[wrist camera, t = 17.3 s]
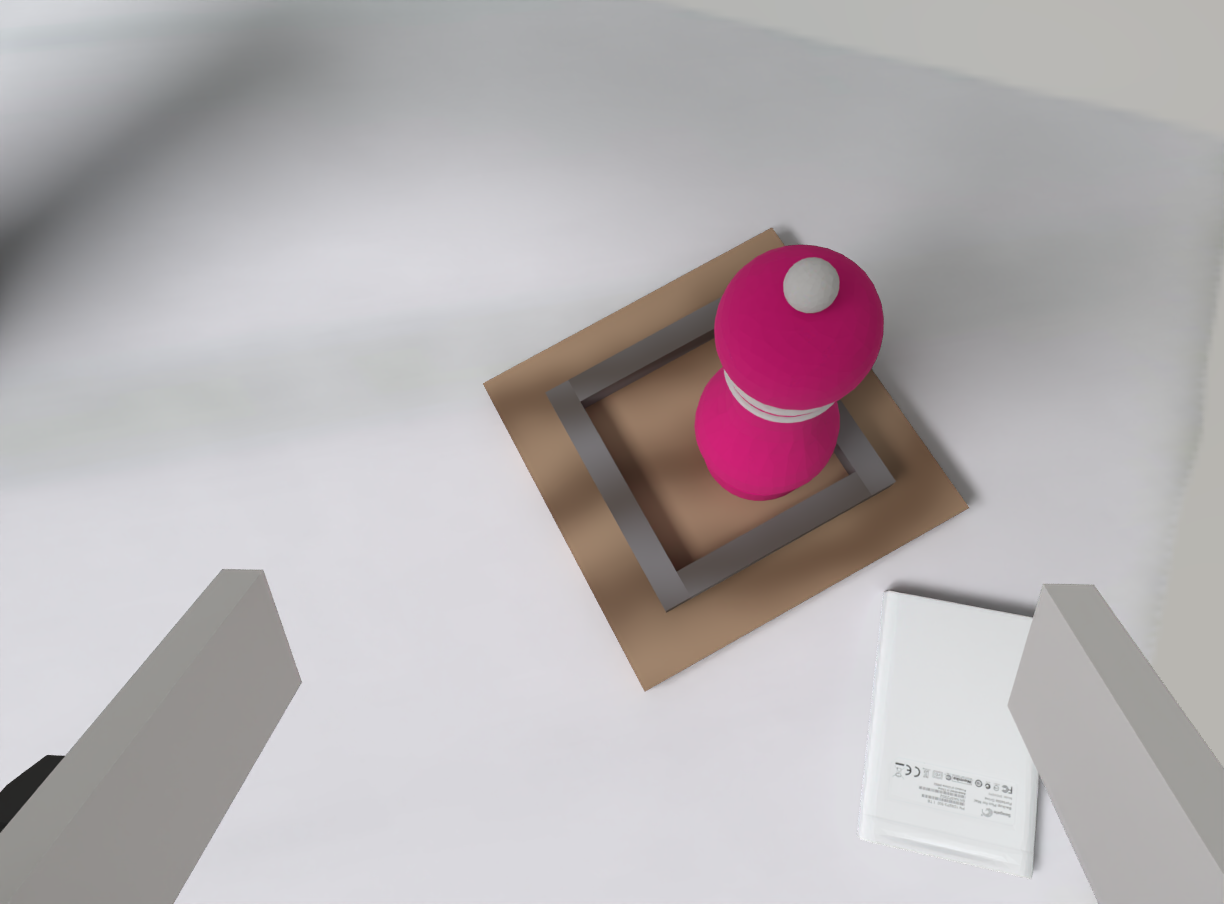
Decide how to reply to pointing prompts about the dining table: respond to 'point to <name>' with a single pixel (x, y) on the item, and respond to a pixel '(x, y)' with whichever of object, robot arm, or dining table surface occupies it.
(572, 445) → the pocket board
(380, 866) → the dining table surface
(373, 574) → the dining table surface
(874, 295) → the pepper mill
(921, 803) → the external hard drive
